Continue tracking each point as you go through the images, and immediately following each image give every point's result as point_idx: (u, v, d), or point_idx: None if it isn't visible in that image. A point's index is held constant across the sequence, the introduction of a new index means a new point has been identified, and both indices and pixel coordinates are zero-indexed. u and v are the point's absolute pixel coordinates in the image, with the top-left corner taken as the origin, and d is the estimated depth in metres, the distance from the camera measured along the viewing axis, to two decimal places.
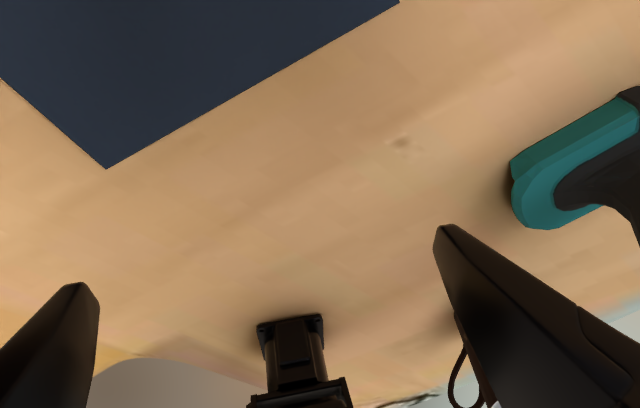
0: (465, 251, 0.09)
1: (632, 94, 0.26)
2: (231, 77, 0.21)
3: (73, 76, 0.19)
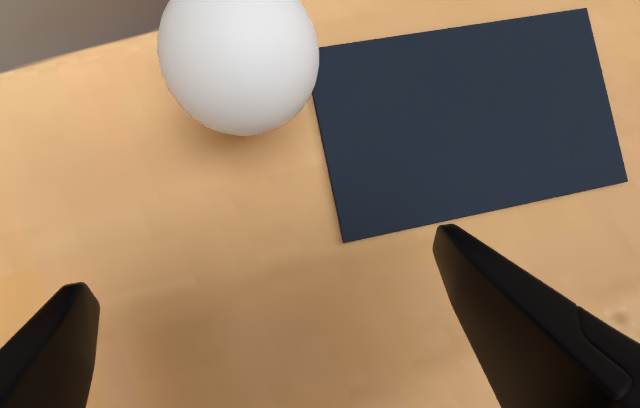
0: (465, 251, 0.09)
1: None
2: (489, 194, 0.24)
3: (373, 152, 0.23)
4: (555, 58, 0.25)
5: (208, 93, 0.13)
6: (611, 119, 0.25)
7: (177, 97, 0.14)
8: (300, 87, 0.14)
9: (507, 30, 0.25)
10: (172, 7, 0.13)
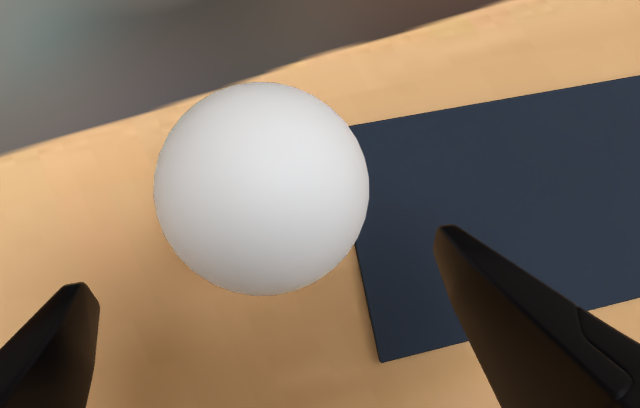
0: (465, 251, 0.09)
1: None
2: None
3: (414, 251, 0.19)
4: (626, 132, 0.21)
5: (223, 269, 0.09)
6: None
7: (180, 258, 0.10)
8: (348, 244, 0.10)
9: (569, 100, 0.21)
10: (173, 150, 0.09)
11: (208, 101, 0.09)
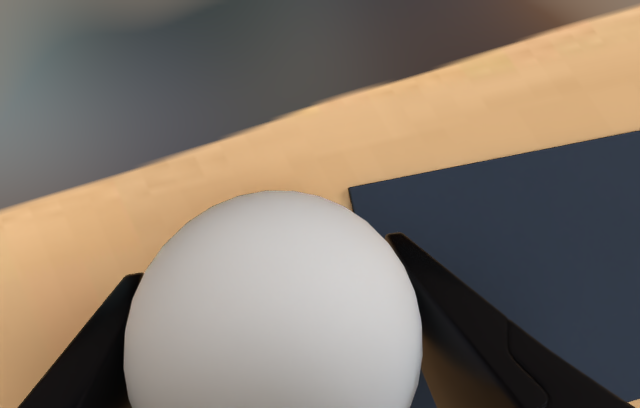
0: (407, 261, 0.09)
1: None
2: (608, 383, 0.17)
3: None
4: None
5: None
6: None
7: None
8: None
9: (623, 148, 0.18)
10: (148, 323, 0.06)
11: (200, 241, 0.07)
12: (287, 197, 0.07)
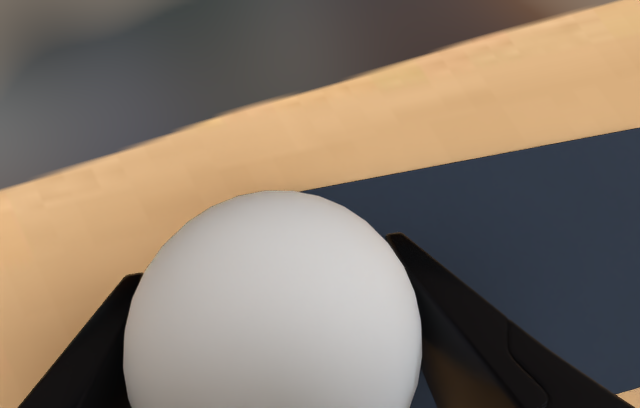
0: (407, 261, 0.09)
1: None
2: None
3: None
4: (601, 200, 0.18)
5: None
6: None
7: None
8: None
9: (535, 162, 0.18)
10: (148, 322, 0.06)
11: (200, 241, 0.07)
12: (287, 197, 0.07)
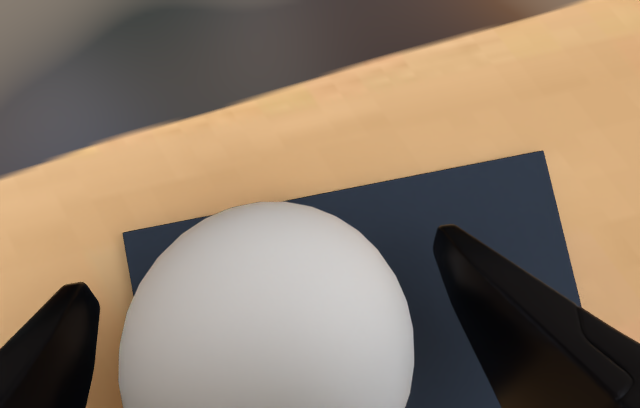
0: (465, 251, 0.09)
1: None
2: None
3: None
4: (498, 227, 0.18)
5: None
6: None
7: None
8: None
9: (428, 188, 0.17)
10: (141, 337, 0.06)
11: (192, 255, 0.07)
12: (279, 209, 0.08)
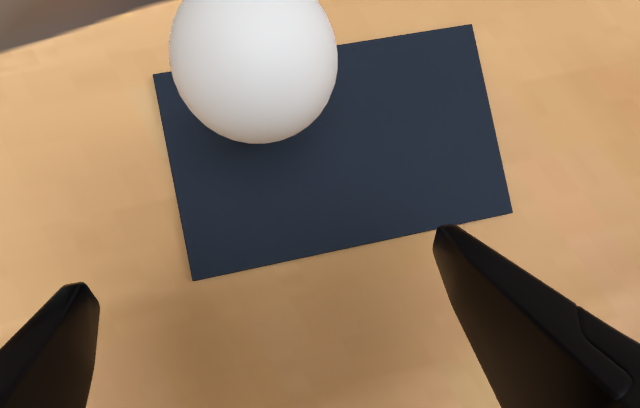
0: (465, 251, 0.09)
1: None
2: (356, 228, 0.22)
3: (227, 184, 0.22)
4: (434, 80, 0.23)
5: (223, 102, 0.12)
6: (496, 145, 0.23)
7: (190, 105, 0.13)
8: (319, 93, 0.13)
9: (381, 50, 0.23)
10: (184, 11, 0.12)
11: None
12: None
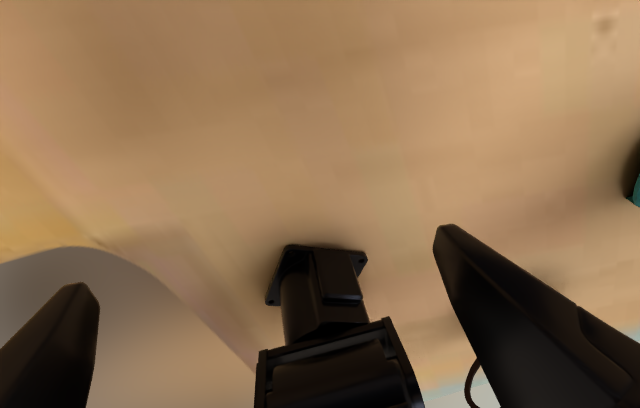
0: (465, 251, 0.09)
1: None
2: None
3: None
4: None
5: None
6: None
7: None
8: None
9: None
10: None
11: None
12: None
